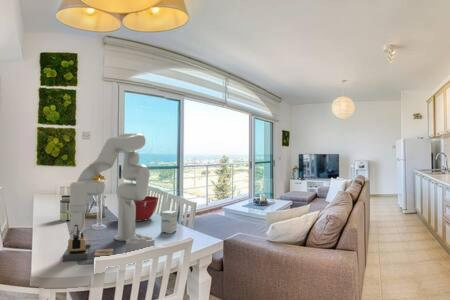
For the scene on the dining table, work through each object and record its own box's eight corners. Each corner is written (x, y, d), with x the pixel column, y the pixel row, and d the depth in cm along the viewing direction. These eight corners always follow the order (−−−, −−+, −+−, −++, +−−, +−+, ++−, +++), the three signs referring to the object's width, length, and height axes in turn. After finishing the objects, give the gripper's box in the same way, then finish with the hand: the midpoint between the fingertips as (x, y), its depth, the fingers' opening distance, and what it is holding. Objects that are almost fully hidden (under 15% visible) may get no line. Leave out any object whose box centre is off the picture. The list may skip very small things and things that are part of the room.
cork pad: (96, 251, 147) (96, 249, 147) (113, 249, 149) (113, 248, 149) (94, 256, 139) (94, 255, 139) (112, 255, 141) (112, 253, 141)
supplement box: (160, 232, 183) (161, 212, 183) (167, 229, 189) (167, 210, 190) (170, 234, 180) (171, 213, 180) (177, 231, 187) (177, 211, 187)
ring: (71, 247, 141) (71, 236, 141) (87, 246, 143) (87, 235, 143) (67, 251, 134) (68, 240, 135) (84, 250, 136) (85, 239, 137)
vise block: (68, 253, 143) (69, 230, 143) (91, 251, 146) (91, 229, 146) (62, 261, 132) (63, 237, 132) (87, 260, 135) (87, 235, 135)
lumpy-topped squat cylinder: (156, 254, 143) (156, 237, 143) (128, 259, 136) (129, 240, 136) (149, 248, 152) (149, 231, 152) (123, 253, 145) (123, 235, 145)
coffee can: (65, 217, 218) (66, 198, 218) (78, 218, 217) (79, 199, 217) (56, 220, 208) (56, 200, 208) (70, 221, 207) (70, 201, 207)
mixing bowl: (111, 218, 218) (112, 197, 218) (147, 213, 237) (147, 194, 237) (127, 226, 197) (128, 202, 197) (165, 220, 216) (165, 199, 216)
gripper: (73, 205, 146) (72, 241, 146) (65, 212, 130) (64, 252, 129) (90, 204, 148) (89, 240, 148) (84, 211, 132) (83, 251, 132)
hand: (77, 245), depth 139 cm, fingers closed on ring, 7 cm apart
